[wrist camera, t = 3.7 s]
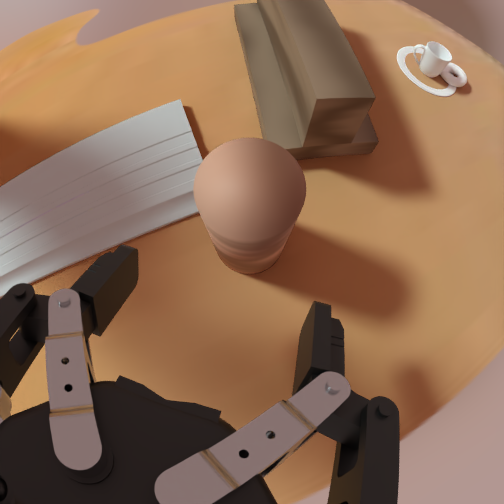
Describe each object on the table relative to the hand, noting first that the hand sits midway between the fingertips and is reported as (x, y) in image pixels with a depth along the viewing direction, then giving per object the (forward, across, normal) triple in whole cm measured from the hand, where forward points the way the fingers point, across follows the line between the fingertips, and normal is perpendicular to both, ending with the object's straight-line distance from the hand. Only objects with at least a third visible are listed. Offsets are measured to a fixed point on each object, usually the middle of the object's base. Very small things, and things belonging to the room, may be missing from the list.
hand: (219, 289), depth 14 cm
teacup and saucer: (+26, -16, -12) cm, 33 cm away
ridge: (+22, 0, -9) cm, 24 cm away
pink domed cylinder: (+10, 0, +3) cm, 10 cm away
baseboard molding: (+8, +18, +6) cm, 21 cm away
